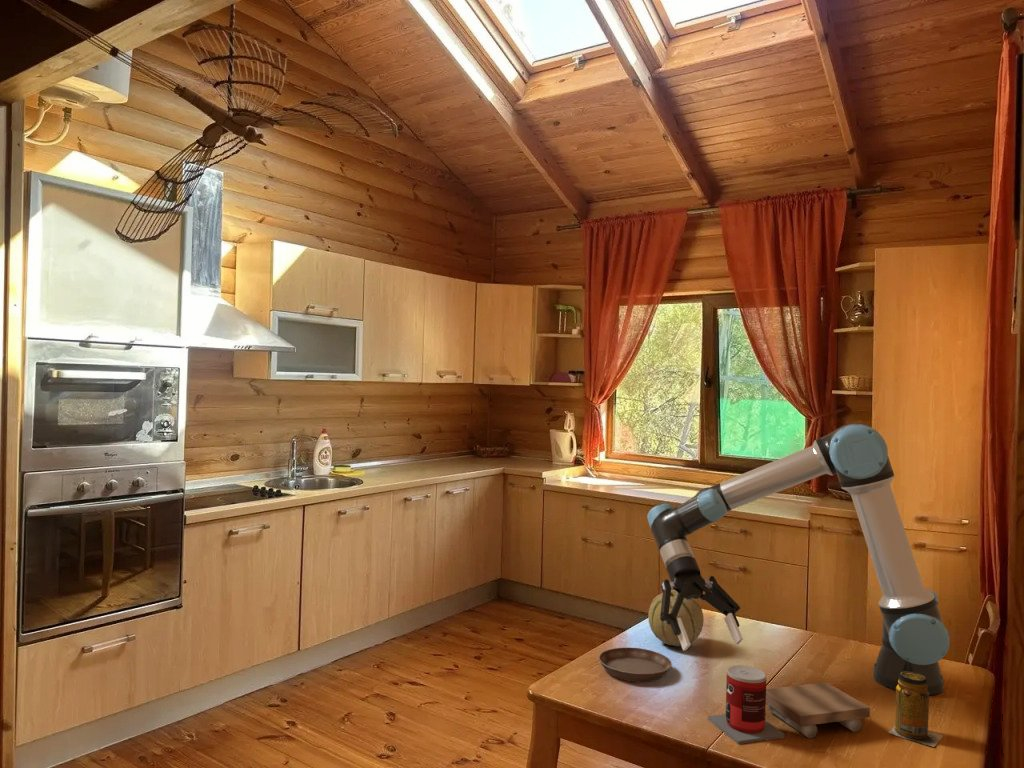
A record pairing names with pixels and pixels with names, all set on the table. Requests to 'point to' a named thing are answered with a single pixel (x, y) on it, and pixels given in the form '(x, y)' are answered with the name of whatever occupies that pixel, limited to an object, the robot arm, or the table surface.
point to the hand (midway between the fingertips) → (713, 645)
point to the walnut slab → (815, 707)
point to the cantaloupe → (687, 613)
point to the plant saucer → (635, 664)
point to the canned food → (745, 699)
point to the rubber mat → (742, 737)
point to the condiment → (913, 710)
